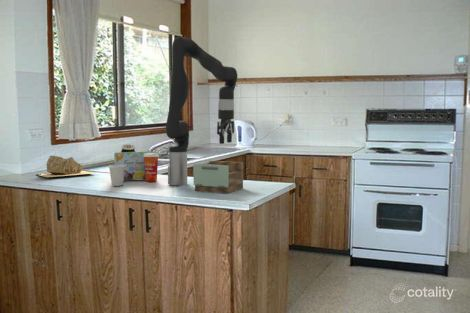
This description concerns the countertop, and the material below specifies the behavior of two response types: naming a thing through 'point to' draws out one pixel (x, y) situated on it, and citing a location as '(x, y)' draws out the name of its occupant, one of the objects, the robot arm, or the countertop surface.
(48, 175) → the bread loaf on board
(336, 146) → the countertop surface
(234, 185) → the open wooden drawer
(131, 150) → the travel mug
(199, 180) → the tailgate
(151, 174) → the coffee cup
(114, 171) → the dixie cup
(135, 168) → the snack box
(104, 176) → the countertop surface
